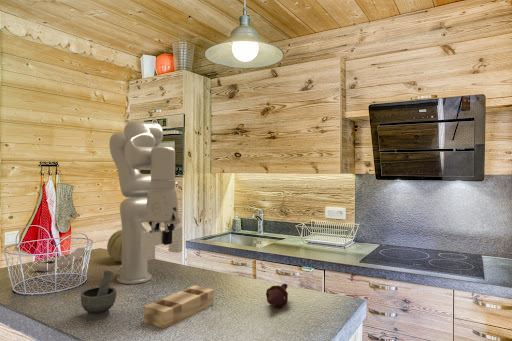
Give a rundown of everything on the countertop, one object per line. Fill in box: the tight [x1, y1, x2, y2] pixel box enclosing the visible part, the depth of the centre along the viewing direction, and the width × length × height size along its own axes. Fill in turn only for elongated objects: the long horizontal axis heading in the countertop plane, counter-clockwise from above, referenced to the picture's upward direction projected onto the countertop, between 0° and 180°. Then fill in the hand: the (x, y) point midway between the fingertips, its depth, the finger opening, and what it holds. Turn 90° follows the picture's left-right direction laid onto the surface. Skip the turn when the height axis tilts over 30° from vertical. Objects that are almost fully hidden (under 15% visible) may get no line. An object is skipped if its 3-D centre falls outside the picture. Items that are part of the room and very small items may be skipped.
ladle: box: [30, 246, 86, 273], centre depth 161 cm, size 6×6×25 cm
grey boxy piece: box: [141, 226, 183, 261], centre depth 118 cm, size 4×14×8 cm, turn 149°
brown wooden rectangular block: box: [143, 284, 215, 329], centre depth 112 cm, size 8×22×4 cm, turn 150°
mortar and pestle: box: [80, 270, 117, 321], centre depth 109 cm, size 11×9×12 cm
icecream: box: [265, 283, 289, 309], centre depth 118 cm, size 7×7×15 cm
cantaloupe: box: [106, 229, 122, 263], centre depth 170 cm, size 15×15×15 cm
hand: (162, 242), depth 118 cm, fingers closed on grey boxy piece, 4 cm apart
